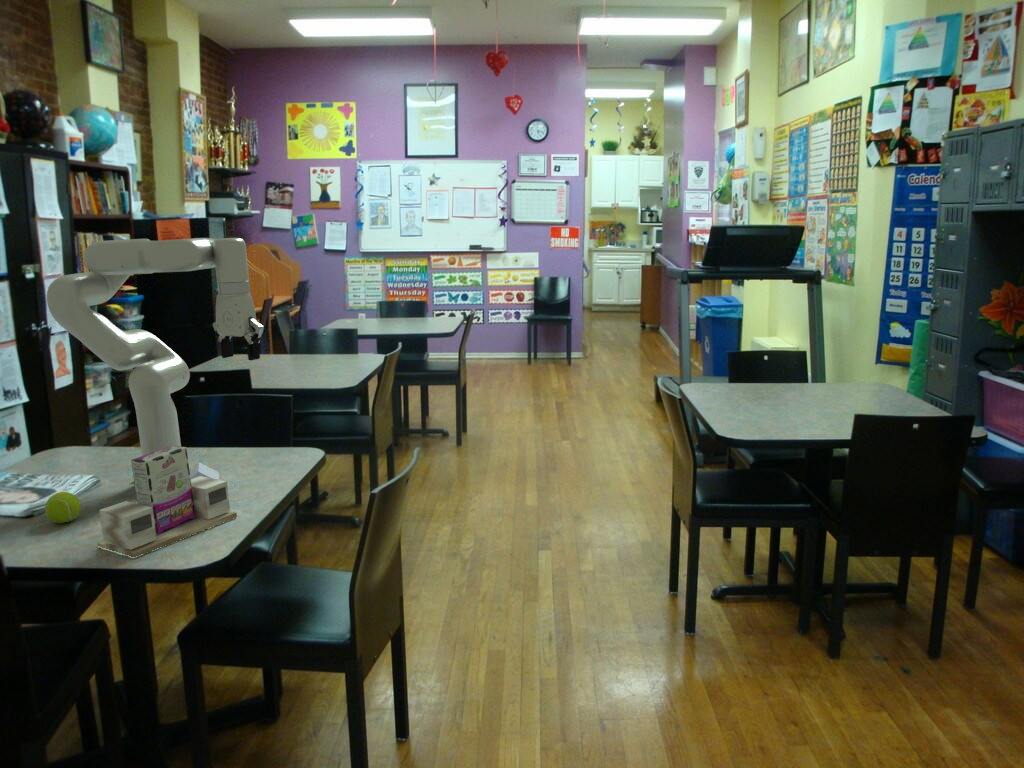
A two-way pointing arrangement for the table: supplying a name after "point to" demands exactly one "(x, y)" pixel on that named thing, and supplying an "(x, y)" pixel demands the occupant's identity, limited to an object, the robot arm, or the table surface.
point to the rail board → (135, 526)
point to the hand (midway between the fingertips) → (240, 358)
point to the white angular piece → (203, 472)
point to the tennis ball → (62, 507)
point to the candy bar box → (165, 486)
